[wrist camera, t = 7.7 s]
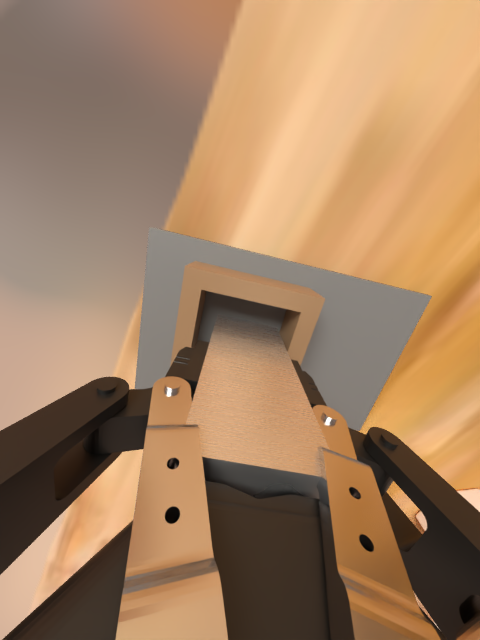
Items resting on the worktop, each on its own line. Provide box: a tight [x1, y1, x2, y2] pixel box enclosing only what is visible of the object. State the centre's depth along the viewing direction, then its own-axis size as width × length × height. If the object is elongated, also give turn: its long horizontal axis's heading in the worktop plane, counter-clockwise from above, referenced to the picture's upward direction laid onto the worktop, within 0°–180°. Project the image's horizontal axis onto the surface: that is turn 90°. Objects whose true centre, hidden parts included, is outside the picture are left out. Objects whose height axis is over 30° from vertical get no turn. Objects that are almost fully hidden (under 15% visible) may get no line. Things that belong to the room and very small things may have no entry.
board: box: [135, 227, 432, 431], centre depth 18 cm, size 14×22×4 cm, turn 77°
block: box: [186, 315, 330, 499], centre depth 11 cm, size 6×4×10 cm, turn 167°
